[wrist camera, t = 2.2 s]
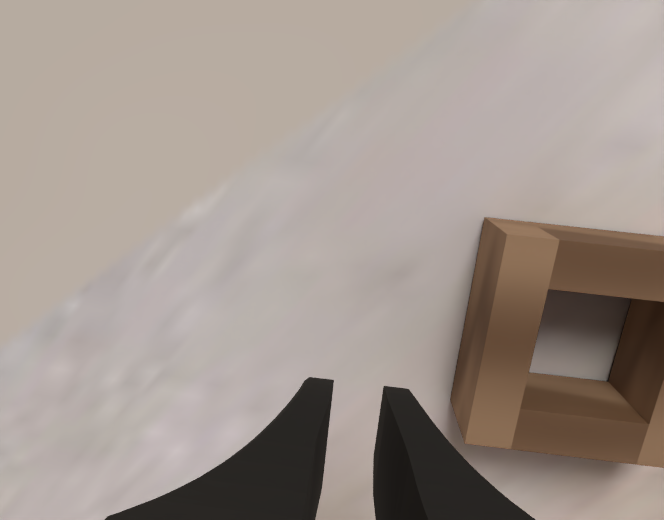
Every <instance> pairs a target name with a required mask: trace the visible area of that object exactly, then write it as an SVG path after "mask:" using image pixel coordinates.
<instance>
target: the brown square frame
mask: <svg viewBox="0 0 664 520" xmlns="http://www.w3.org/2000/svg"><path fill="white" fill-rule="evenodd" d="M548 289H552V290H561V291H570V292H579V293H588V294H597V295H606V296H615V297H624V298H632V300H631V304H630V307H629V311H628V314H627V318H626V321H625V325H624V328H623V332H622V335H621V339H620V342H619V346H618V349H617V353H616V356H615V360H614V363H613V367H612V370H611V374H610V377H609V381H608V382H606V381H598V380H589V379H580V378H572V377H563V376H555V375H546V374H538V373H529V369H530V365H531V360H532V356H533V352H534V348H535V343H536V339H537V335H538V330H539V326H540V322H541V318H542V313H543V309H544V305H545V301H546V296H547V292H548ZM450 400H451V403H452V406H453V409H454V412H455V415H456V418H457V421H458V424H459V428H460V431H461V434H462V437H463V440H464V443H465V444H472V445H480V446H488V447H497V448H505V449H513V450H521V451H530V452H538V453H546V454H554V455H563V456H571V457H579V458H587V459H596V460H604V461H612V462H620V463H629V464H637V465H645V466H653V467H662V468H664V237H663V236H654V235H645V234H635V233H626V232H617V231H607V230H598V229H589V228H580V227H570V226H561V225H552V224H542V223H533V222H524V221H515V220H505V219H496V218H487V217H485V218H484V224H483V229H482V234H481V240H480V245H479V250H478V256H477V261H476V266H475V271H474V277H473V282H472V287H471V293H470V298H469V303H468V309H467V314H466V319H465V325H464V330H463V335H462V341H461V346H460V351H459V357H458V362H457V367H456V373H455V378H454V383H453V389H452V394H451V399H450Z"/></svg>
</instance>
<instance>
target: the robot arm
mask: <svg viewBox="0 0 664 520" xmlns="http://www.w3.org/2000/svg"><path fill="white" fill-rule="evenodd" d="M333 382H334V380H329V379H320V378H312V377H309V378H308V379H306V380H305V381H304V383H303V384H302V386H301V387H300V389H299V390H298V392H297V393H296V394H295V396H294V397H293V398H292V400H291V401H290V402H289V403H288V404H287V406H286V407H285V408H284V409H283V410H282V411H281V412H280V413H279V415H278V416H277V417H276V418H275V419H274V420H273V421H272V422H271V423H270V424H269V425H268V426H267V427H266V428H265V429H264V430H263V431H262V432H261V433H259V434H258V435H257V436H256V437H255V438H254V439H253V440H252V441H251V442H249V443H248V444H247V445H246V446H245V447H243V448H242V449H241V450H240V451H238V452H237V453H236V454H234V455H233V456H232V457H230V458H229V459H228V460H226V461H225V462H223V463H222V464H220V465H219V466H217V467H215V468H214V469H212V470H211V471H209V472H207V473H206V474H204V475H202V476H201V477H199V478H197V479H195V480H193V481H191V482H190V483H188V484H186V485H184V486H182V487H180V488H178V489H176V490H173V491H171V492H169V493H167V494H165V495H163V496H160V497H158V498H156V499H153V500H151V501H148V502H146V503H143V504H140V505H138V506H135V507H132V508H130V509H127V510H124V511H122V512H119V513H116V514H113V515H110V516H108V517H107V518H106V519H105V520H315V517H316V513H317V508H318V504H319V499H320V494H321V489H322V481H323V473H324V464H325V455H326V446H327V437H328V428H329V419H330V410H331V401H332V392H333ZM373 497H374V507H375V516H376V520H535V519H534V518H532V517H531V516H530V515H529V514H527V513H526V512H525V511H523V510H522V509H521V508H519V507H518V506H517V505H515V504H514V503H513V502H511V501H510V500H509V499H508V498H506V497H505V496H504V495H503V494H502V493H500V492H499V491H498V490H497V489H496V488H495V487H494V486H492V485H491V484H490V483H489V482H488V481H487V480H486V479H485V478H484V477H482V476H481V475H480V474H479V473H478V472H477V471H476V470H475V469H474V468H473V467H472V466H471V465H470V464H469V463H468V462H467V461H466V460H465V459H464V458H463V457H462V456H461V455H460V454H459V452H458V451H457V450H456V449H455V448H454V447H453V446H452V445H451V444H450V443H449V441H448V440H447V439H446V438H445V437H444V435H443V434H442V433H441V432H440V430H439V429H438V428H437V427H436V425H435V424H434V423H433V422H432V420H431V419H430V418H429V416H428V415H427V413H426V412H425V411H424V409H423V408H422V407H421V405H420V404H419V402H418V401H417V400H416V398H415V397H414V396H413V394H412V393H411V392H410V390H409V389H405V388H396V387H388V386H384V388H383V395H382V402H381V409H380V416H379V423H378V430H377V437H376V444H375V451H374V467H373Z"/></svg>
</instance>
